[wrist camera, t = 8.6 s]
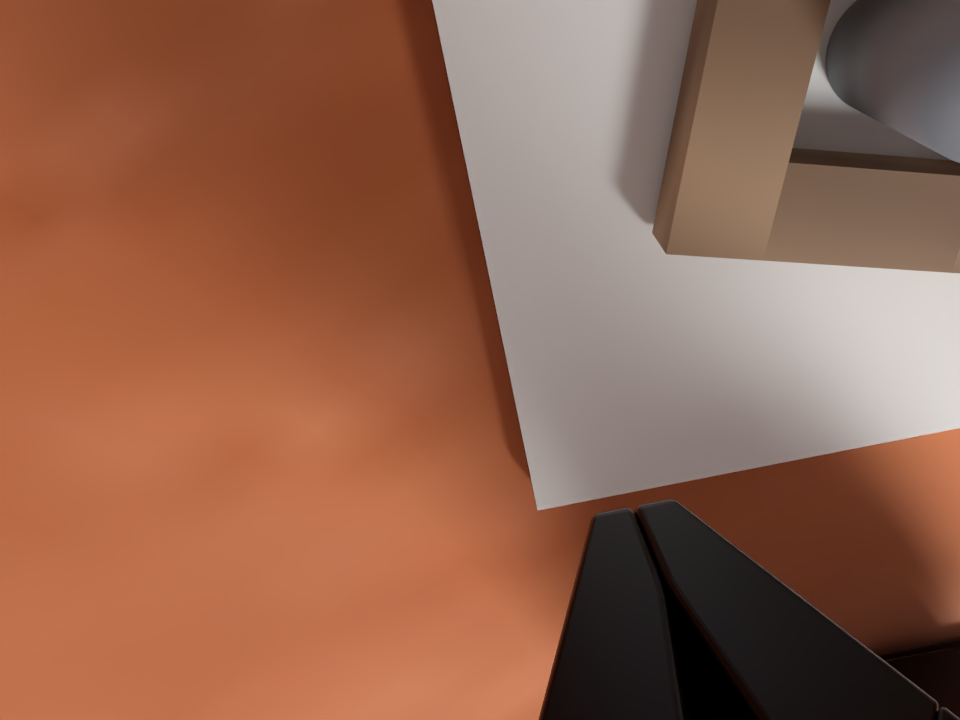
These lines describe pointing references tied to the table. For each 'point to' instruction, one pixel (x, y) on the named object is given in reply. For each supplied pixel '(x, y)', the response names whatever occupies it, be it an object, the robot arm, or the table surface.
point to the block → (788, 159)
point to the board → (691, 279)
